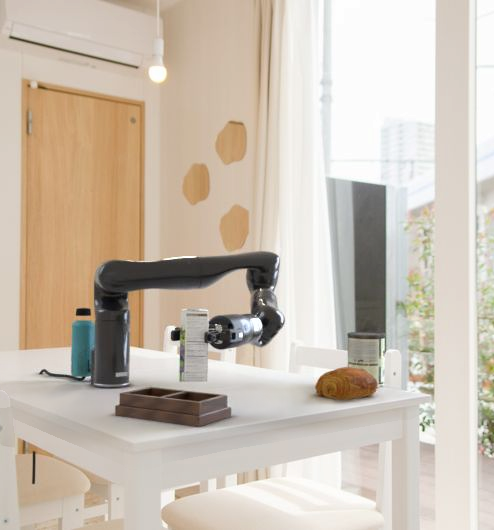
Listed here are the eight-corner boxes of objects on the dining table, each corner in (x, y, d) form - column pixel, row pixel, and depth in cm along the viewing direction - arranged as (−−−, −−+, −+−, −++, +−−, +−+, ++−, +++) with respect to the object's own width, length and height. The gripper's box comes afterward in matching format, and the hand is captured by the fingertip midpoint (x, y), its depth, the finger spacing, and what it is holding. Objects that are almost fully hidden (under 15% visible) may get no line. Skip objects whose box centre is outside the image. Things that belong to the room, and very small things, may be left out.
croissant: (386, 405, 172) (390, 373, 173) (341, 402, 163) (346, 368, 163) (345, 395, 184) (349, 365, 184) (301, 392, 174) (305, 360, 175)
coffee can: (342, 381, 196) (343, 331, 196) (378, 381, 198) (378, 331, 198) (352, 387, 186) (353, 334, 186) (389, 387, 187) (390, 334, 188)
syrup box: (179, 378, 145) (180, 308, 146) (208, 377, 146) (208, 308, 146) (179, 382, 140) (179, 309, 140) (208, 382, 140) (209, 309, 140)
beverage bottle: (88, 382, 188) (89, 308, 188) (65, 381, 189) (67, 308, 189) (98, 379, 194) (100, 307, 194) (76, 378, 195) (77, 307, 196)
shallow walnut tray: (114, 415, 145) (115, 393, 145) (150, 406, 155) (150, 385, 155) (199, 426, 135) (199, 403, 135) (231, 416, 145) (231, 394, 145)
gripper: (258, 349, 152) (218, 357, 138) (203, 346, 159) (160, 353, 145) (258, 315, 152) (218, 319, 138) (203, 313, 159) (160, 317, 145)
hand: (188, 336), depth 141 cm, fingers closed on syrup box, 7 cm apart
